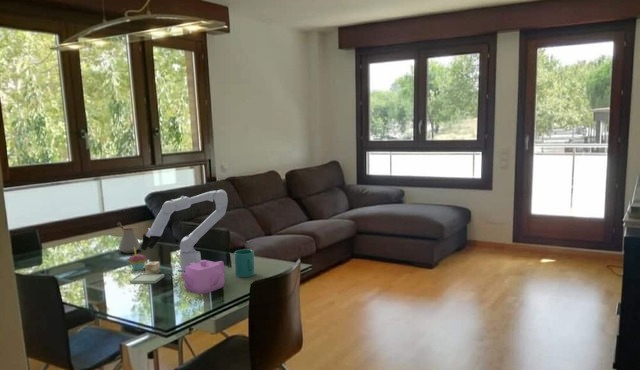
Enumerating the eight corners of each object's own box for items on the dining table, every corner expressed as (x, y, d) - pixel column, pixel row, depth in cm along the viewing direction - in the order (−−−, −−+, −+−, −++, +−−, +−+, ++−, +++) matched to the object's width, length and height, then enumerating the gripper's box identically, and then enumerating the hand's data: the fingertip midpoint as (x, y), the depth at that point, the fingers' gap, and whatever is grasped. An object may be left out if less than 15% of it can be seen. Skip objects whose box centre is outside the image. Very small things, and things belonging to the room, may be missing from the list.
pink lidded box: (226, 280, 214) (224, 254, 212) (222, 293, 197) (221, 265, 196) (187, 283, 212) (186, 256, 210) (181, 296, 195) (179, 267, 194)
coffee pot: (143, 251, 270) (141, 225, 268) (123, 255, 262) (121, 228, 261) (129, 244, 286) (128, 220, 284) (110, 248, 278) (108, 223, 276)
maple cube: (160, 271, 230) (159, 261, 230) (155, 274, 225) (155, 264, 225) (150, 271, 231) (149, 261, 230) (145, 274, 226) (145, 264, 225)
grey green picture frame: (164, 276, 222) (164, 274, 222) (155, 283, 212) (155, 281, 212) (140, 276, 223) (140, 273, 223) (129, 283, 214) (129, 280, 213)
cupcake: (141, 271, 231) (139, 247, 229) (125, 270, 233) (123, 247, 231) (150, 266, 239) (149, 243, 238) (135, 265, 241) (133, 242, 240)
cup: (245, 281, 213) (243, 256, 212) (231, 275, 222) (230, 251, 221) (261, 276, 219) (261, 253, 217) (248, 270, 228) (247, 248, 226)
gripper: (158, 219, 236) (145, 243, 236) (146, 220, 221) (132, 246, 221) (170, 226, 235) (158, 249, 235) (159, 227, 221) (145, 253, 221)
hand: (146, 248), depth 228 cm, fingers open, 7 cm apart
